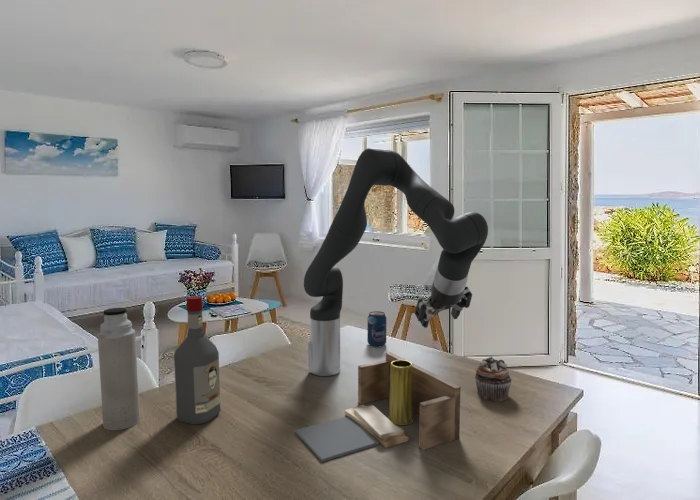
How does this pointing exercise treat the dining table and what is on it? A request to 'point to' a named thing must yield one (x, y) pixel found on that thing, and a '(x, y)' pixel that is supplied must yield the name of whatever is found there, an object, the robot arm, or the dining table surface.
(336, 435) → the mat
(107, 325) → the thermos bottle
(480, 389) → the cupcake
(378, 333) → the soda can
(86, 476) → the dining table surface
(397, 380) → the vase
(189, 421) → the liquor
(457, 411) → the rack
